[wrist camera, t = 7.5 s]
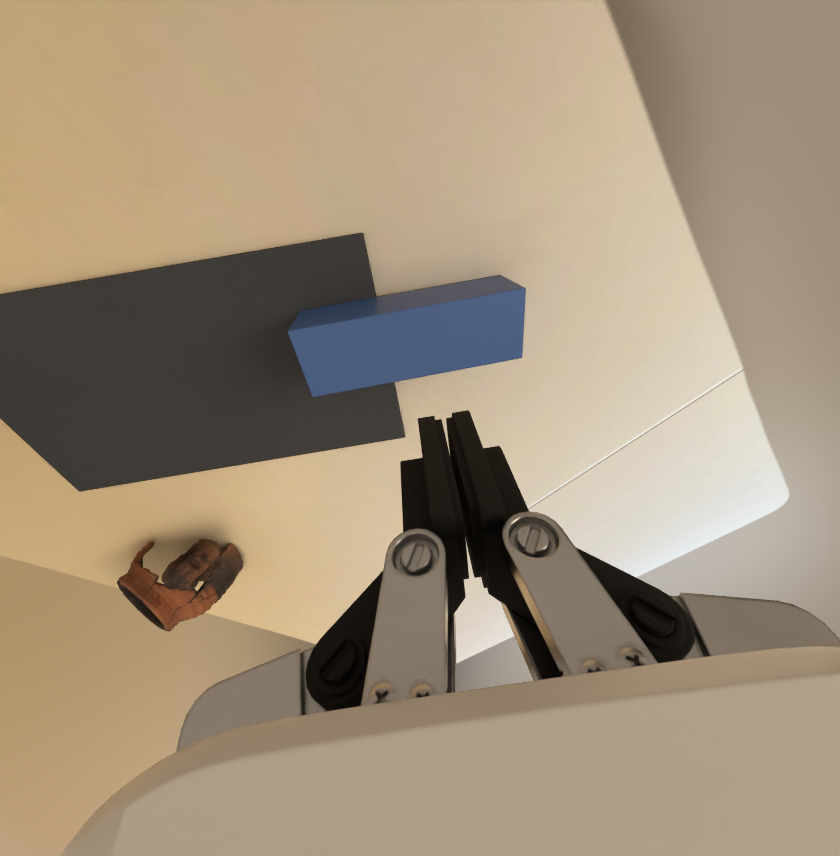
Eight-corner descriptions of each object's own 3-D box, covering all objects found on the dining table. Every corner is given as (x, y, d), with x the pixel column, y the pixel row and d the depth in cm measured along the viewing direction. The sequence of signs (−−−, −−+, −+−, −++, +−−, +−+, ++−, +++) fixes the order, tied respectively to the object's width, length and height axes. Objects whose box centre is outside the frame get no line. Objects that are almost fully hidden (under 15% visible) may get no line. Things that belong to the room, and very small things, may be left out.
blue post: (500, 274, 22) (299, 310, 22) (526, 287, 19) (286, 331, 18) (500, 336, 25) (320, 369, 25) (522, 358, 21) (312, 397, 21)
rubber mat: (-105, 312, 20) (-114, 314, 20) (363, 232, 20) (362, 232, 20) (82, 488, 30) (79, 491, 29) (404, 434, 30) (405, 437, 29)
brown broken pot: (240, 581, 41) (173, 645, 34) (185, 529, 41) (107, 585, 34) (263, 552, 33) (184, 629, 27) (195, 489, 33) (99, 550, 27)
